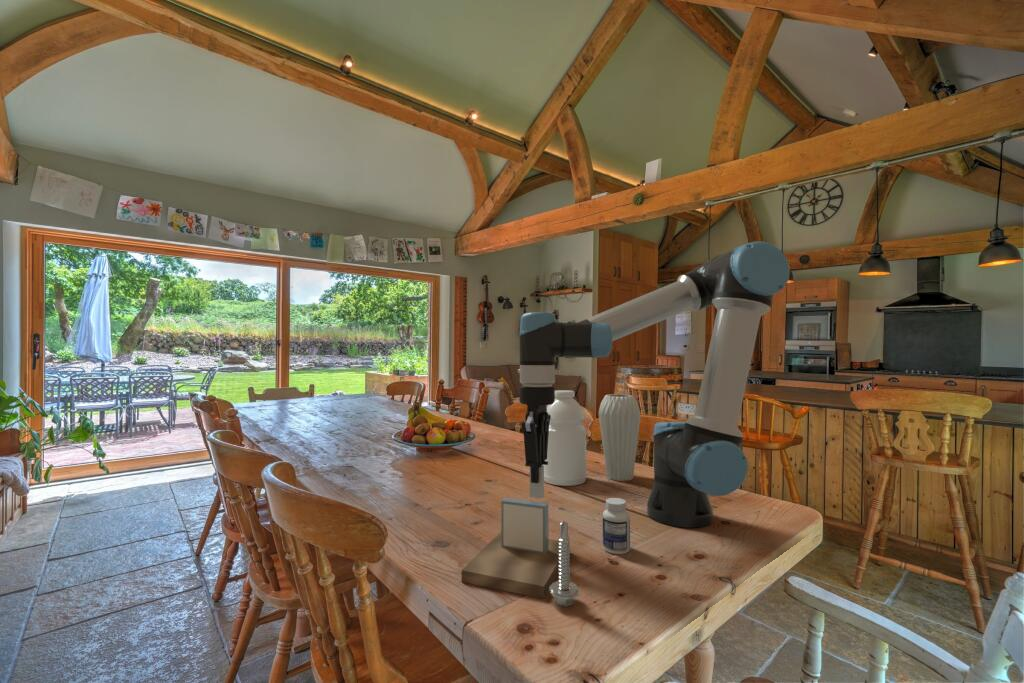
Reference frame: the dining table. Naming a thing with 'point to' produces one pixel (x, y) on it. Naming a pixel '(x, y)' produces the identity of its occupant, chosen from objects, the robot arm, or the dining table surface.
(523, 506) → the tile
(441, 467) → the dining table surface
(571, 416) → the bottle
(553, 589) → the screw
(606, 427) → the vase
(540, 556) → the board
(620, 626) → the dining table surface
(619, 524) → the pill bottle
